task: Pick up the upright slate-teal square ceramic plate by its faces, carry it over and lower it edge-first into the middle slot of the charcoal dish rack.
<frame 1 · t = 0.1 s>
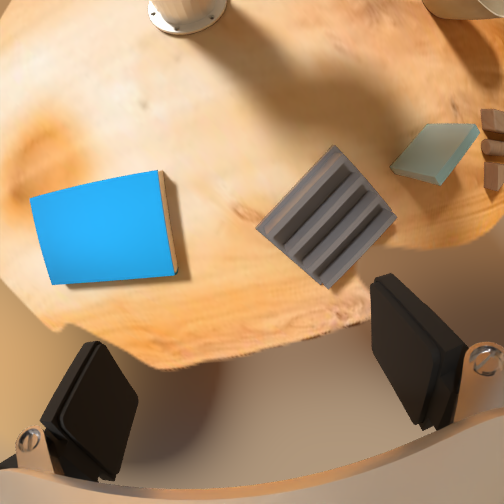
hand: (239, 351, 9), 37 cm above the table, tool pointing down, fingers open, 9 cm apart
wooden block set: (501, 150, 43), on the table
book: (104, 228, 46), on the table
dish rack: (327, 217, 46), on the table
plate: (411, 147, 43), on the table
plant pot: (434, 3, 32), on the table
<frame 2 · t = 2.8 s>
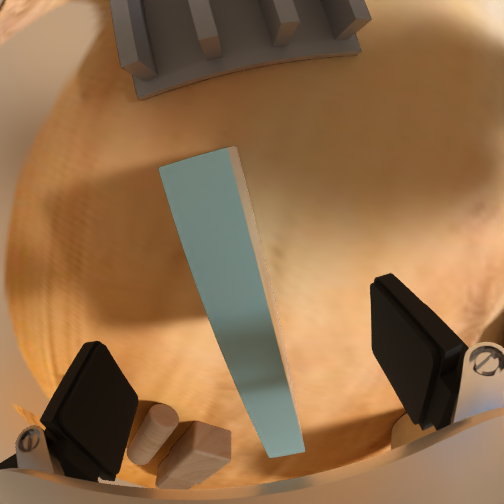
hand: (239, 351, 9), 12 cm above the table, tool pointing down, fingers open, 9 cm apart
wooden block set: (144, 433, 30), on the table
plate: (247, 233, 20), on the table
plant pot: (415, 418, 31), on the table
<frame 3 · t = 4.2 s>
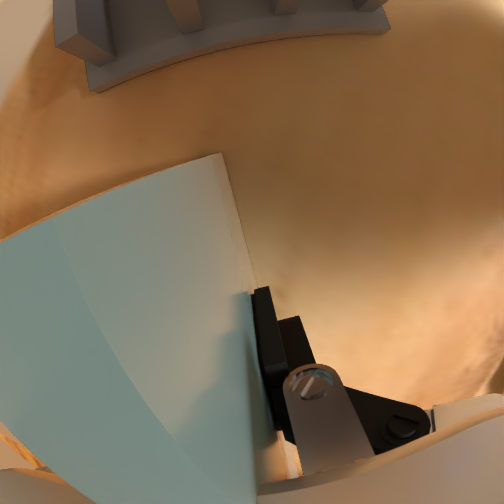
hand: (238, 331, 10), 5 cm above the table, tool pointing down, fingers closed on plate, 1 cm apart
plate: (237, 271, 15), on the table, touching gripper
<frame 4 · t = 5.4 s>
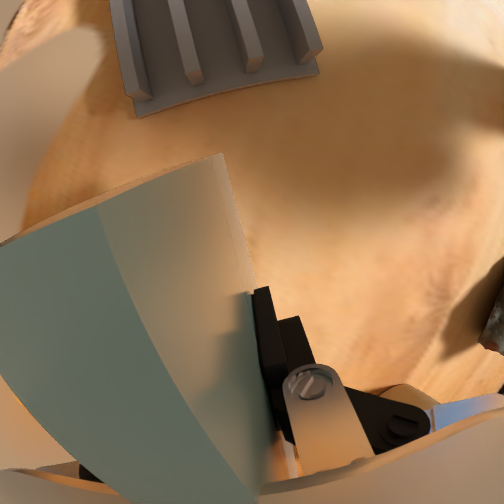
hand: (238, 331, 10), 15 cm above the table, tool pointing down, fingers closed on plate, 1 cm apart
dish rack: (204, 5, 18), on the table
plate: (237, 269, 15), point 10 cm above the table, touching gripper
grey lumpy mound: (500, 297, 32), on the table
plant pot: (391, 400, 35), on the table
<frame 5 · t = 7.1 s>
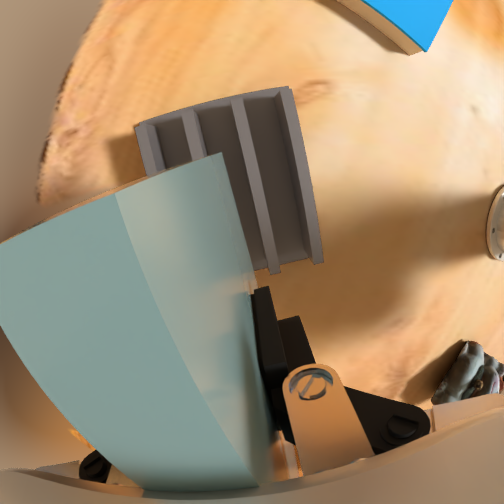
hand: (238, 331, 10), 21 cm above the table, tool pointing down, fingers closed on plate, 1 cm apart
dish rack: (233, 187, 29), on the table
plate: (237, 266, 16), point 15 cm above the table, touching gripper
grey lumpy mound: (457, 365, 43), on the table
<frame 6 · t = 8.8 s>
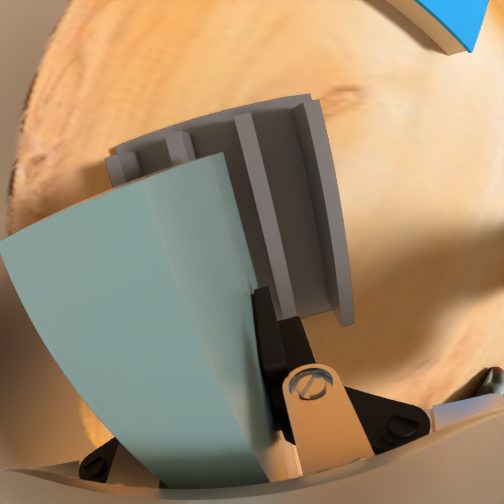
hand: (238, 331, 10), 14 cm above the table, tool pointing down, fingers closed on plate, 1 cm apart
dish rack: (239, 227, 23), on the table
plate: (237, 264, 16), point 8 cm above the table, touching gripper
grey lumpy mound: (479, 391, 36), on the table
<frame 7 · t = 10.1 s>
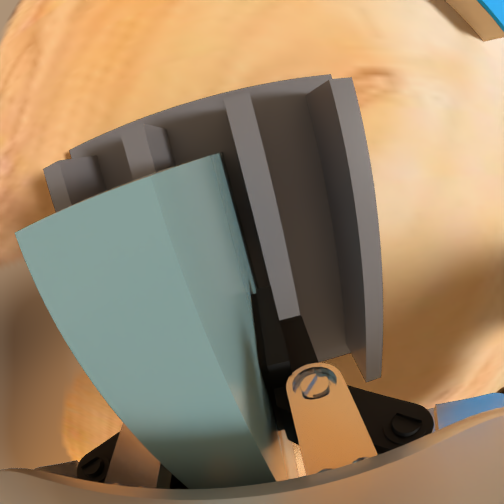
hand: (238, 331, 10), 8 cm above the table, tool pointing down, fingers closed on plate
dish rack: (234, 255, 17), on the table
plate: (237, 262, 16), point 1 cm above the table, touching dish rack, gripper
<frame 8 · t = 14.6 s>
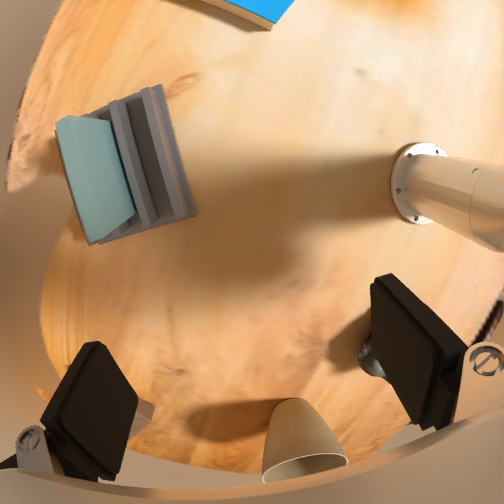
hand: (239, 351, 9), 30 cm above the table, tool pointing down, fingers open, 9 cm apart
wooden block set: (107, 401, 51), on the table
dish rack: (126, 166, 35), on the table
plate: (125, 166, 34), point 1 cm above the table, touching dish rack
grey lumpy mound: (392, 328, 47), on the table
plant pot: (292, 408, 53), on the table
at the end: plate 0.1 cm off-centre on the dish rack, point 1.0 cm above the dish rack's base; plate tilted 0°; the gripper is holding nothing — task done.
